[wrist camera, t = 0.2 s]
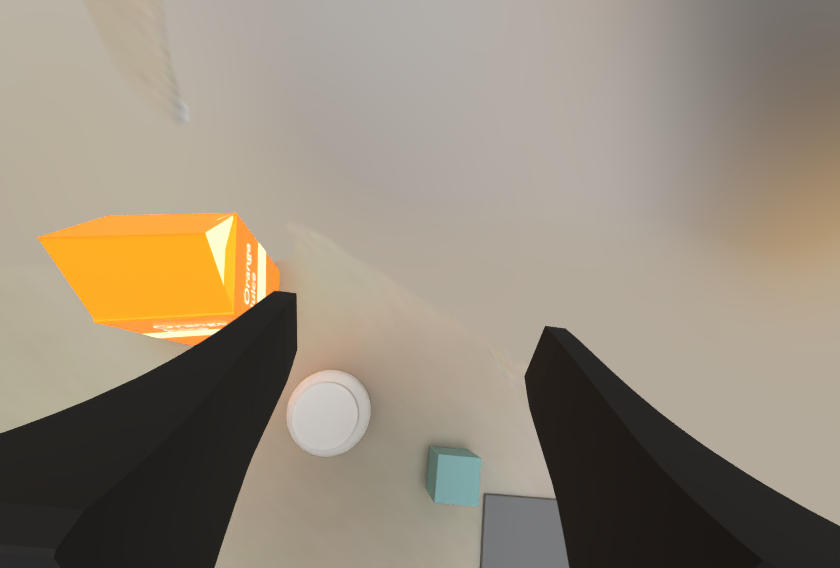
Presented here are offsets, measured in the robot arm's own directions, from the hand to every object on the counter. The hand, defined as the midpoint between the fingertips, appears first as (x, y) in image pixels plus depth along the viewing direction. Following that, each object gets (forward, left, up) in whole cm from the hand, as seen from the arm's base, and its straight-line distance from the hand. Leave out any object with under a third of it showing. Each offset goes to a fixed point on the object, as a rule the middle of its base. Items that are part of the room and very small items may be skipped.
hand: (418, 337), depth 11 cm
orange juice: (+5, +16, -31) cm, 36 cm away
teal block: (-9, -8, -31) cm, 33 cm away
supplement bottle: (-4, +4, -31) cm, 32 cm away
